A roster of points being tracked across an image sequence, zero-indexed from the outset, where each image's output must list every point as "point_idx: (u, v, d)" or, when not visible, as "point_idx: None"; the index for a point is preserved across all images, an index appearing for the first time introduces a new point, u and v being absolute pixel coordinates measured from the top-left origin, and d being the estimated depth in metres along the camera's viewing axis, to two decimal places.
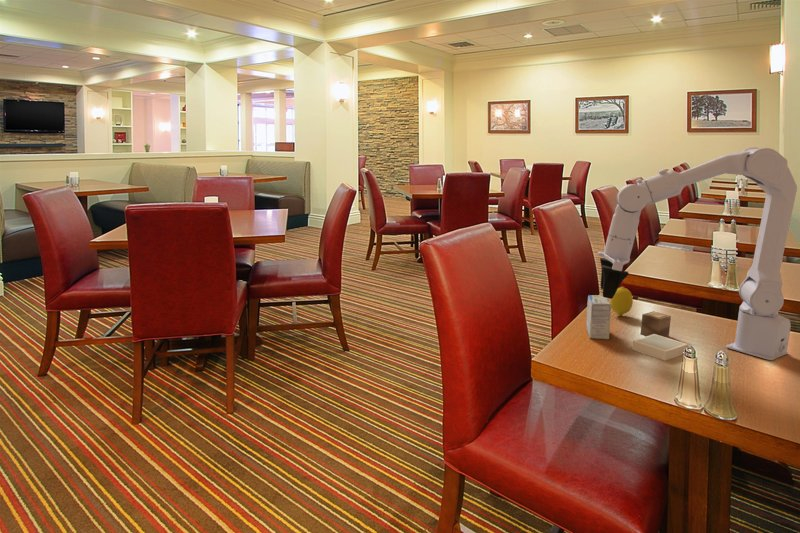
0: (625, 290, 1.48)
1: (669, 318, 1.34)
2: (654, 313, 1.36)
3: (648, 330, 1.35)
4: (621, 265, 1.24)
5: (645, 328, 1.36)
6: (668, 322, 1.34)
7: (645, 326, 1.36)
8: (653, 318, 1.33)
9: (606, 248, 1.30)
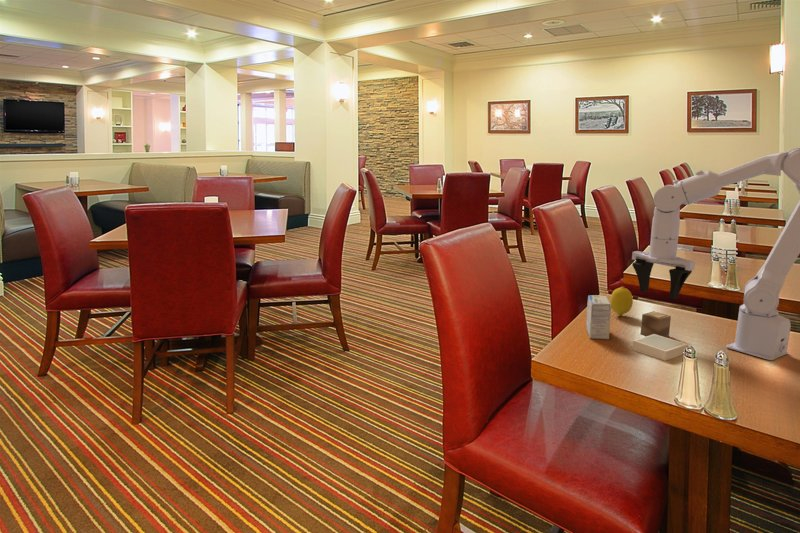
0: (625, 290, 1.48)
1: (669, 318, 1.34)
2: (654, 313, 1.36)
3: (648, 330, 1.35)
4: (694, 264, 1.27)
5: (645, 328, 1.36)
6: (668, 322, 1.34)
7: (645, 326, 1.36)
8: (653, 318, 1.33)
9: (661, 252, 1.29)
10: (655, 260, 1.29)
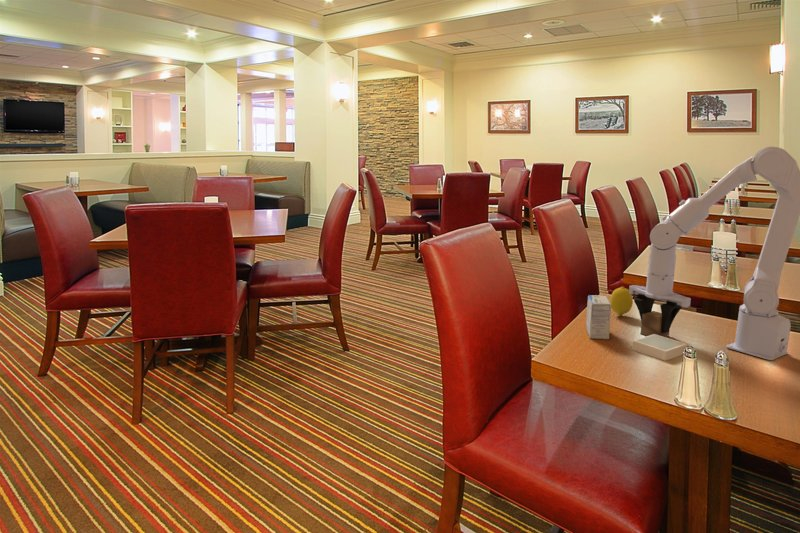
0: (625, 290, 1.48)
1: None
2: (654, 313, 1.36)
3: (648, 330, 1.35)
4: (689, 301, 1.28)
5: (645, 328, 1.36)
6: None
7: (645, 326, 1.36)
8: (653, 317, 1.33)
9: (657, 288, 1.31)
10: (651, 296, 1.31)
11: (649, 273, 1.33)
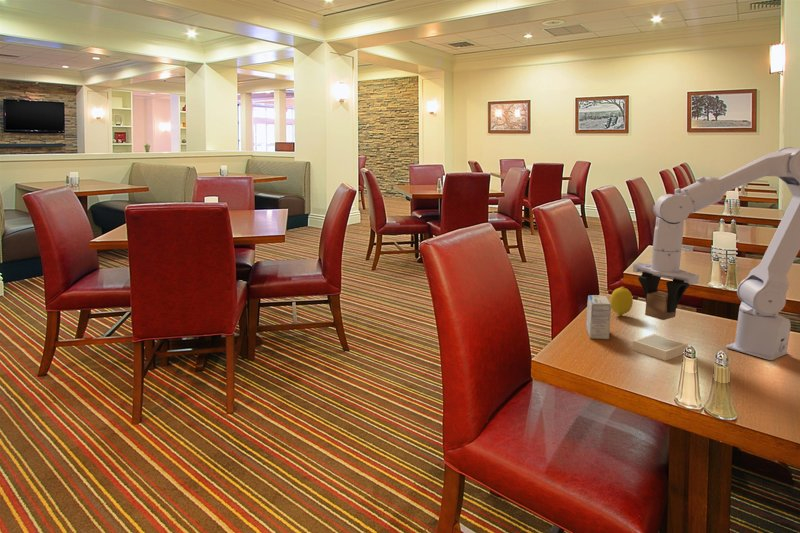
0: (625, 290, 1.48)
1: None
2: (660, 292, 1.28)
3: (653, 310, 1.27)
4: (697, 278, 1.20)
5: (650, 308, 1.28)
6: None
7: (650, 307, 1.28)
8: (658, 297, 1.26)
9: (663, 265, 1.23)
10: (657, 273, 1.23)
11: (654, 249, 1.25)
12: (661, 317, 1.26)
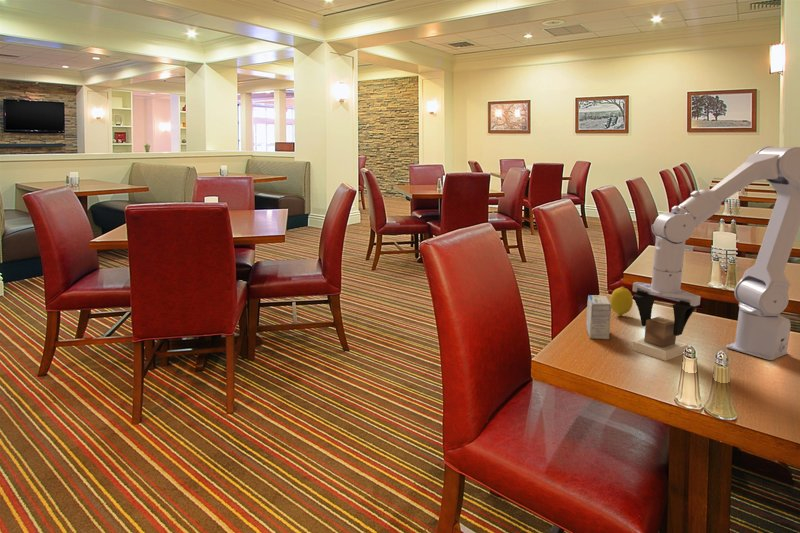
0: (625, 290, 1.48)
1: None
2: (659, 319, 1.25)
3: (653, 337, 1.24)
4: (699, 299, 1.17)
5: (649, 335, 1.25)
6: None
7: (649, 333, 1.25)
8: (658, 324, 1.22)
9: (663, 285, 1.20)
10: (657, 294, 1.20)
11: (655, 269, 1.21)
12: (661, 344, 1.22)
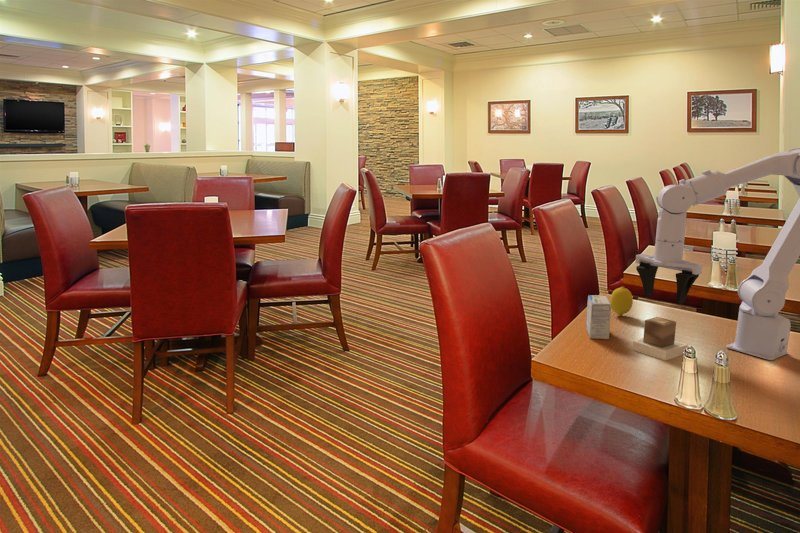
0: (625, 290, 1.48)
1: (675, 324, 1.23)
2: (658, 319, 1.25)
3: (652, 337, 1.24)
4: (701, 268, 1.21)
5: (648, 335, 1.24)
6: (673, 328, 1.23)
7: (648, 333, 1.24)
8: (657, 324, 1.22)
9: (666, 255, 1.24)
10: (661, 264, 1.24)
11: (658, 239, 1.25)
12: (660, 344, 1.22)
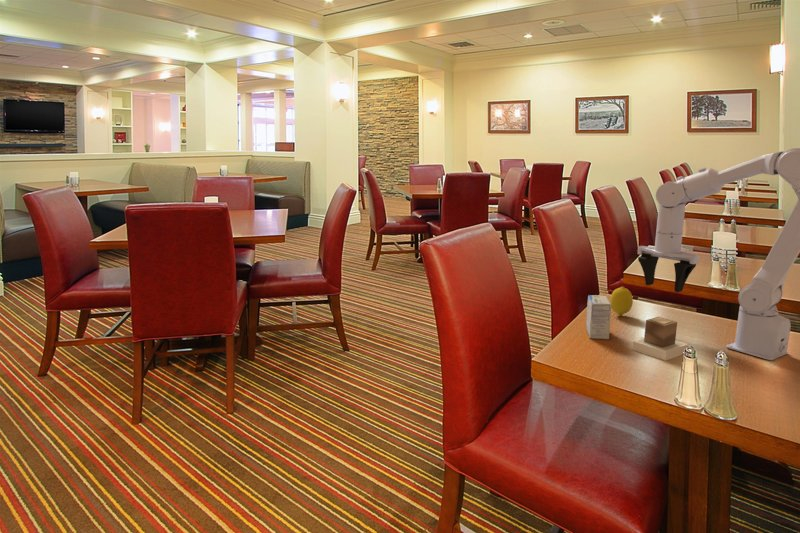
0: (625, 290, 1.48)
1: (676, 324, 1.23)
2: (659, 319, 1.25)
3: (653, 337, 1.24)
4: (698, 258, 1.31)
5: (649, 335, 1.24)
6: (674, 329, 1.23)
7: (649, 333, 1.25)
8: (658, 324, 1.22)
9: (666, 247, 1.34)
10: (660, 254, 1.34)
11: (658, 232, 1.35)
12: (660, 344, 1.22)
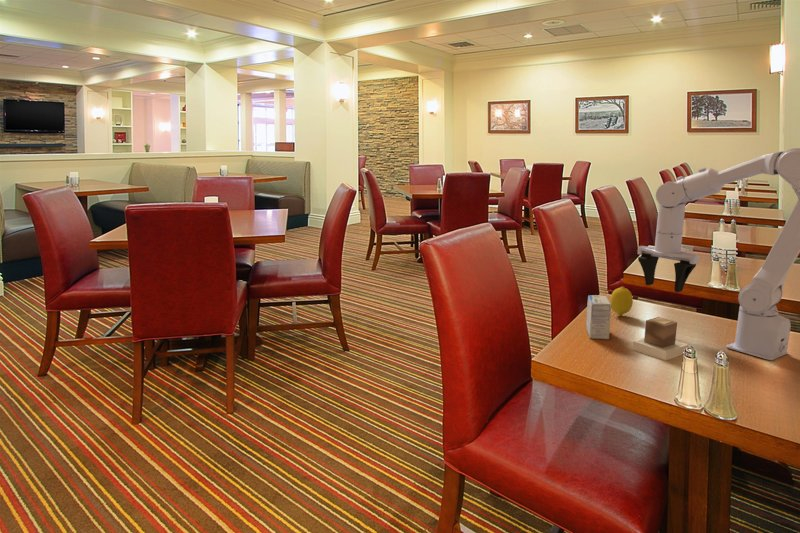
0: (625, 290, 1.48)
1: (676, 324, 1.23)
2: (659, 319, 1.25)
3: (653, 338, 1.24)
4: (698, 258, 1.31)
5: (649, 335, 1.24)
6: (674, 329, 1.23)
7: (649, 334, 1.24)
8: (658, 324, 1.22)
9: (666, 247, 1.34)
10: (660, 254, 1.34)
11: (658, 232, 1.35)
12: (661, 345, 1.22)
